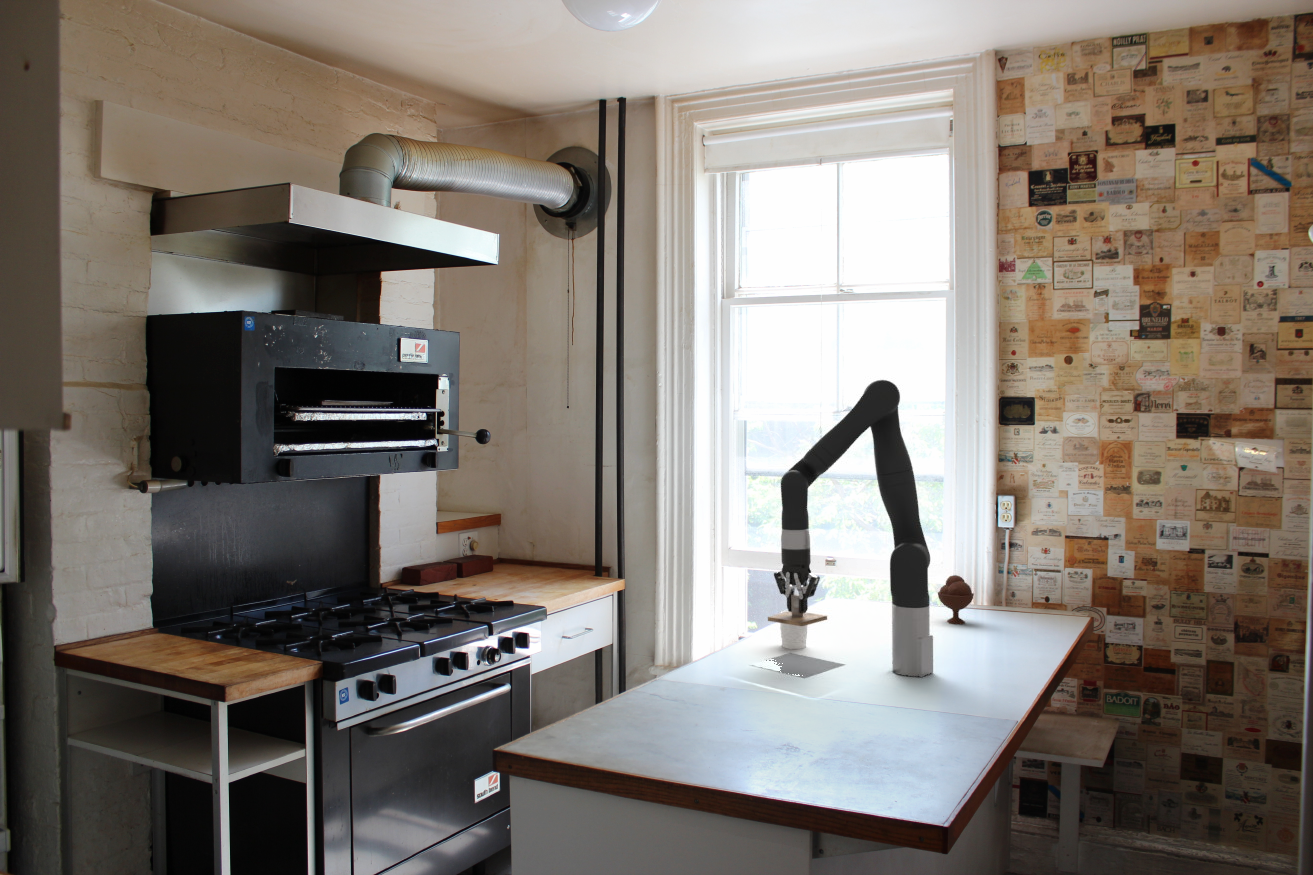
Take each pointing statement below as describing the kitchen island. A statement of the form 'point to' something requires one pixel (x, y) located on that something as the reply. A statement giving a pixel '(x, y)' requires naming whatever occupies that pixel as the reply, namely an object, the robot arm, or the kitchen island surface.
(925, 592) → the robot arm
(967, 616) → the kitchen island surface
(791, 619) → the lid
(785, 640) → the white cup
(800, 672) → the mat
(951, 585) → the ice cream bowl
